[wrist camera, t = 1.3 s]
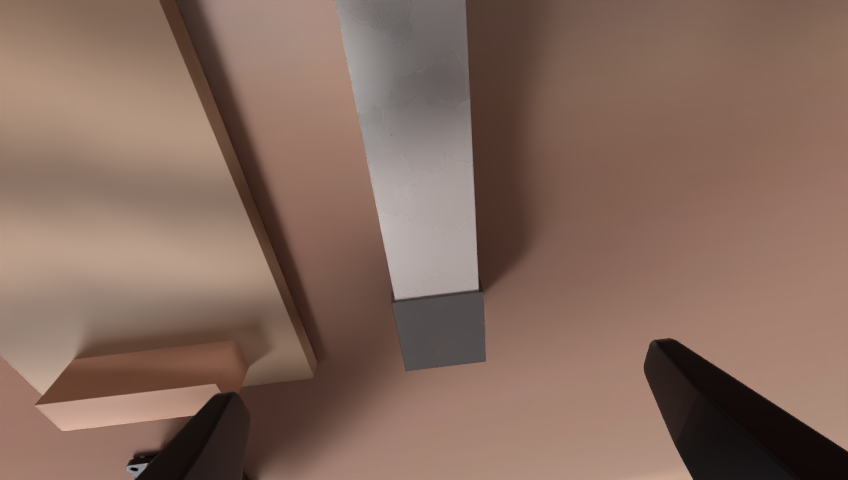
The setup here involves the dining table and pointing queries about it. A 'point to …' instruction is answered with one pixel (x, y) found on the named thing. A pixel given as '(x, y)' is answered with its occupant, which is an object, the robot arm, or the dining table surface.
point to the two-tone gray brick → (420, 168)
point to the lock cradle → (128, 222)
